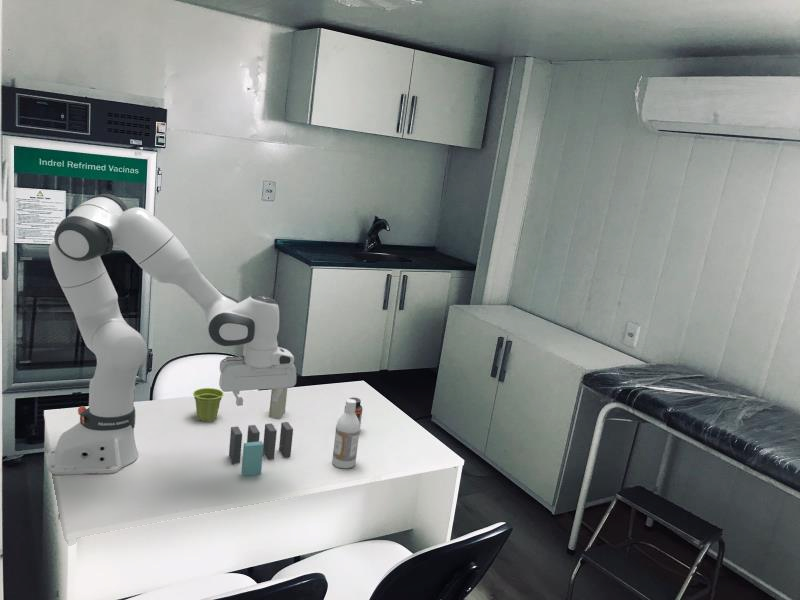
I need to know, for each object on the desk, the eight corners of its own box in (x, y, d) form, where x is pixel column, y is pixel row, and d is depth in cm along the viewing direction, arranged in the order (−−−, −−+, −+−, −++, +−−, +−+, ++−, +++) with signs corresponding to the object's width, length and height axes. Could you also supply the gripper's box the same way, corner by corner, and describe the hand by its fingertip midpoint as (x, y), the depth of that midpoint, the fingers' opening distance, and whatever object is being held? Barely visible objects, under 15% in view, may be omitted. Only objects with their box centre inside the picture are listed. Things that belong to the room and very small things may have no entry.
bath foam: (327, 460, 188) (334, 397, 183) (347, 456, 192) (354, 395, 187) (339, 471, 182) (347, 407, 178) (359, 466, 187) (367, 403, 182)
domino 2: (250, 461, 181) (252, 432, 179) (245, 453, 185) (248, 425, 183) (257, 460, 182) (259, 432, 180) (252, 452, 186) (255, 424, 184)
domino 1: (232, 463, 178) (235, 434, 176) (228, 455, 183) (231, 427, 181) (239, 462, 179) (242, 433, 177) (235, 454, 184) (238, 426, 182)
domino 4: (267, 459, 183) (270, 431, 181) (262, 451, 188) (265, 424, 186) (274, 458, 184) (276, 430, 182) (269, 451, 188) (271, 423, 187)
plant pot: (188, 414, 206) (189, 389, 204) (216, 410, 211) (218, 386, 209) (196, 425, 198) (197, 400, 196) (225, 422, 204) (227, 397, 202)
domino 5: (283, 457, 186) (286, 429, 184) (278, 450, 190) (281, 422, 188) (290, 457, 187) (293, 429, 185) (285, 449, 191) (287, 421, 189)
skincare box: (272, 410, 217) (276, 377, 215) (285, 412, 217) (288, 379, 214) (268, 417, 211) (271, 383, 208) (281, 419, 211) (284, 385, 208)
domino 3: (261, 474, 175) (263, 444, 173) (243, 476, 173) (245, 446, 171) (259, 470, 177) (261, 441, 175) (241, 472, 174) (243, 443, 172)
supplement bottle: (341, 434, 206) (345, 401, 204) (342, 426, 212) (346, 395, 210) (359, 436, 207) (363, 403, 204) (359, 428, 212) (363, 397, 210)
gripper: (222, 361, 160) (219, 411, 163) (300, 357, 169) (296, 405, 172) (217, 352, 165) (215, 401, 169) (293, 349, 175) (289, 396, 178)
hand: (256, 403), depth 170 cm, fingers open, 8 cm apart
